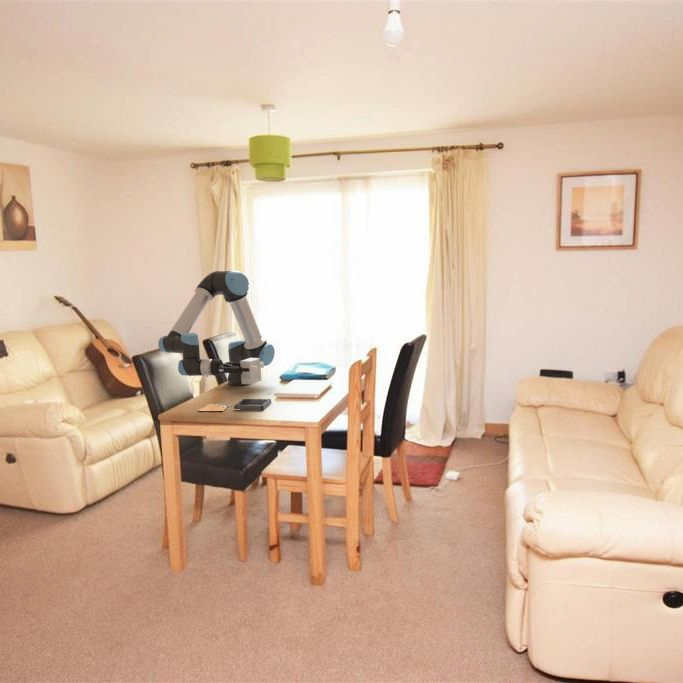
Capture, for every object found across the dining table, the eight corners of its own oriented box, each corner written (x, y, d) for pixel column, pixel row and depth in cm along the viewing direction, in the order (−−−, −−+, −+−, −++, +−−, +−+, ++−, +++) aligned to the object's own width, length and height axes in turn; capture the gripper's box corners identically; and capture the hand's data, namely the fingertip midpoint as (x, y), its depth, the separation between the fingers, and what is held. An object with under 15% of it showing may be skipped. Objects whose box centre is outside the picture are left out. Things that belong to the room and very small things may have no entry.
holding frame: (243, 403, 268) (243, 398, 267) (271, 403, 266) (271, 399, 265) (234, 410, 256) (234, 406, 255) (263, 410, 253) (263, 406, 253)
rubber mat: (207, 404, 267) (207, 403, 267) (232, 404, 265) (232, 403, 265) (197, 411, 256) (197, 410, 256) (222, 412, 254) (222, 410, 254)
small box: (251, 379, 264) (250, 357, 262) (261, 380, 261) (260, 358, 259) (241, 383, 257) (239, 360, 255) (251, 384, 254) (249, 361, 252)
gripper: (221, 370, 272) (267, 369, 268) (203, 381, 251) (253, 380, 247) (220, 354, 271) (266, 354, 267) (202, 364, 250) (252, 363, 246)
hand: (260, 366), depth 257 cm, fingers closed on small box, 9 cm apart
